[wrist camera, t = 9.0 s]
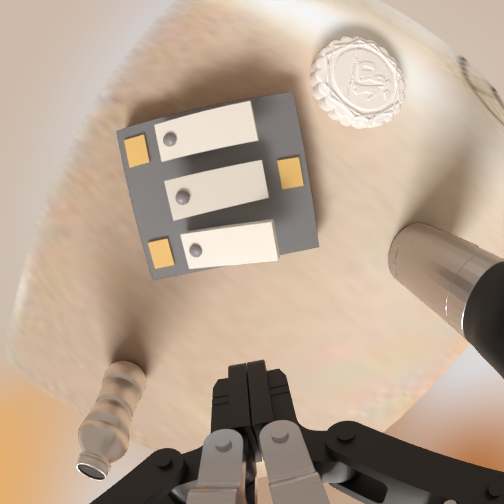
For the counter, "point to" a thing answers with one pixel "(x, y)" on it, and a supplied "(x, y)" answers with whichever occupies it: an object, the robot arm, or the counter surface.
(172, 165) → the switch console
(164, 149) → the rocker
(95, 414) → the plastic bottle
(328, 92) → the mooncake
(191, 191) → the plate
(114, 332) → the counter surface
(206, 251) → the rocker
